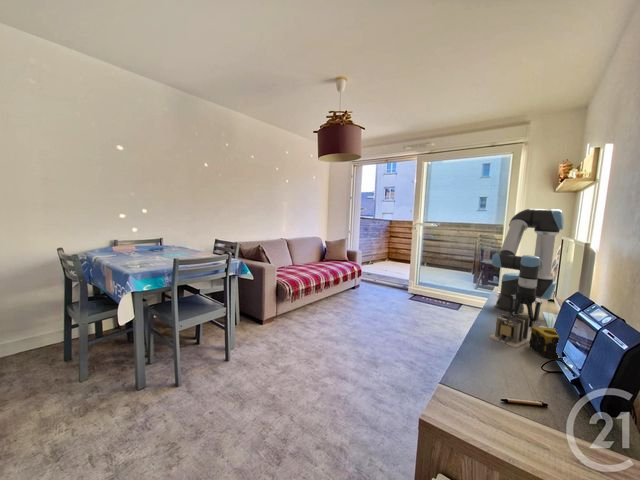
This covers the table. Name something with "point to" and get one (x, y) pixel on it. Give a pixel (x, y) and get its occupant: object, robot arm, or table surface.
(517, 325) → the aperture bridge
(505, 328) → the long golden plank
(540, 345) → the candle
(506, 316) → the collar
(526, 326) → the collar
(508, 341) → the long cream board
